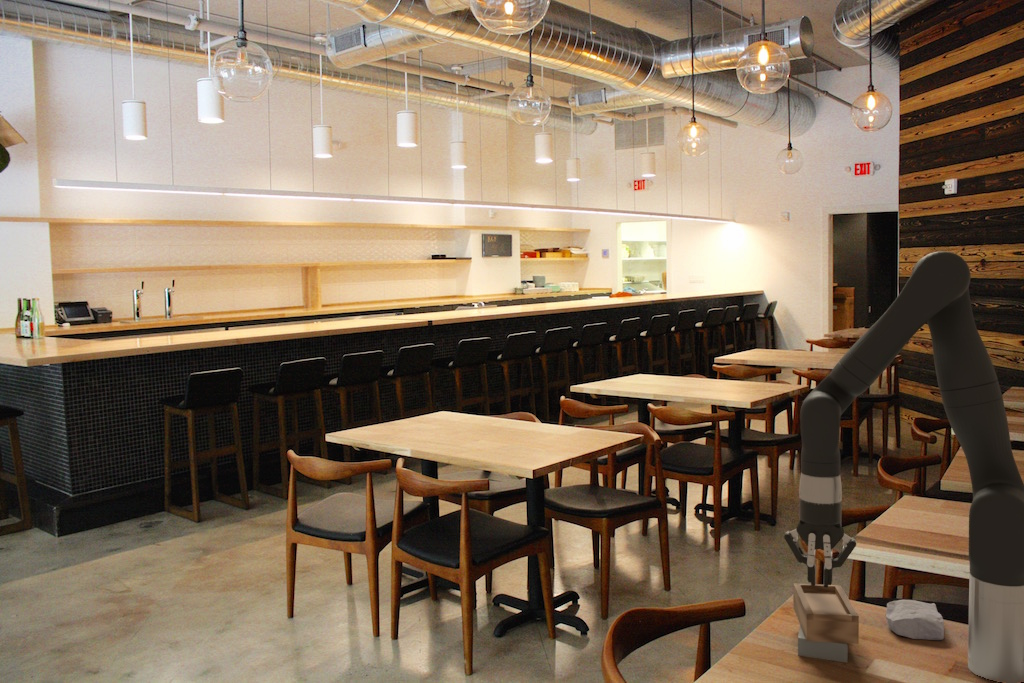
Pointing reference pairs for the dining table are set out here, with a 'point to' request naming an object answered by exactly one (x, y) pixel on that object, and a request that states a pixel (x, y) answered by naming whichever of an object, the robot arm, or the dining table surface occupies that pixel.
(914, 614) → the stone block
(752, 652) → the dining table surface
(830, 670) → the dining table surface
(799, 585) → the tan open box
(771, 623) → the dining table surface
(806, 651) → the base slab
